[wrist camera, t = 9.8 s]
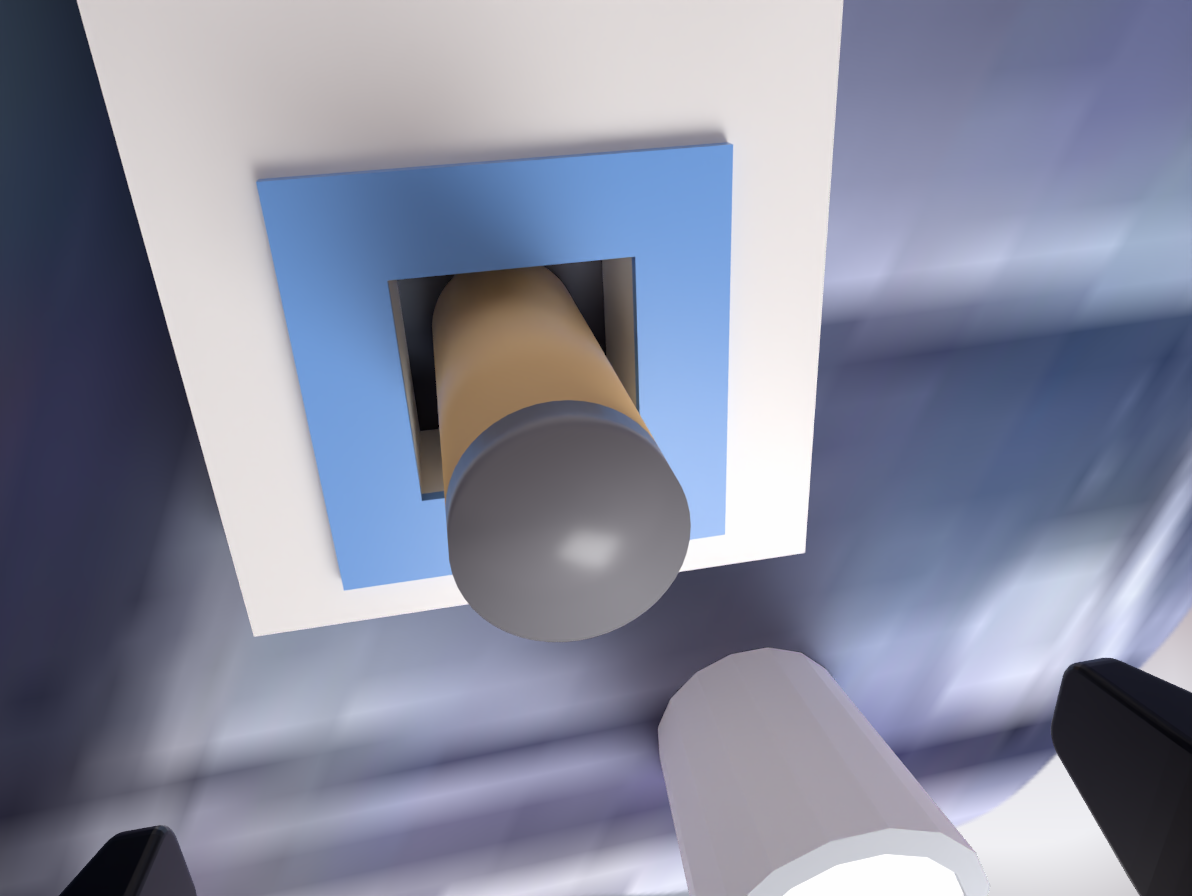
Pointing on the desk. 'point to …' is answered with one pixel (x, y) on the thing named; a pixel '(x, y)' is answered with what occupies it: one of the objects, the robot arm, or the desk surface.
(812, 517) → the desk surface
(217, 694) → the desk surface
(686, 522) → the grey-capped tan cylinder
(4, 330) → the desk surface
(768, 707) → the white cylinder
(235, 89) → the block
